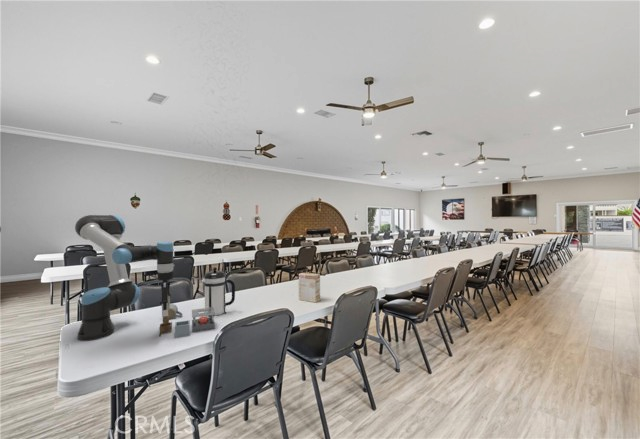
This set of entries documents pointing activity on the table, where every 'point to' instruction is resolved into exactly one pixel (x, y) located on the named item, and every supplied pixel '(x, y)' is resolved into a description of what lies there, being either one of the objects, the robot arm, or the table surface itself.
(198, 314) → the button base
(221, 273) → the coffee press
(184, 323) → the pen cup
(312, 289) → the coffeecake box
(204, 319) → the button
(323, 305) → the table surface
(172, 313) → the ceramic mug
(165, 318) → the dowel
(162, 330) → the dowel holder
